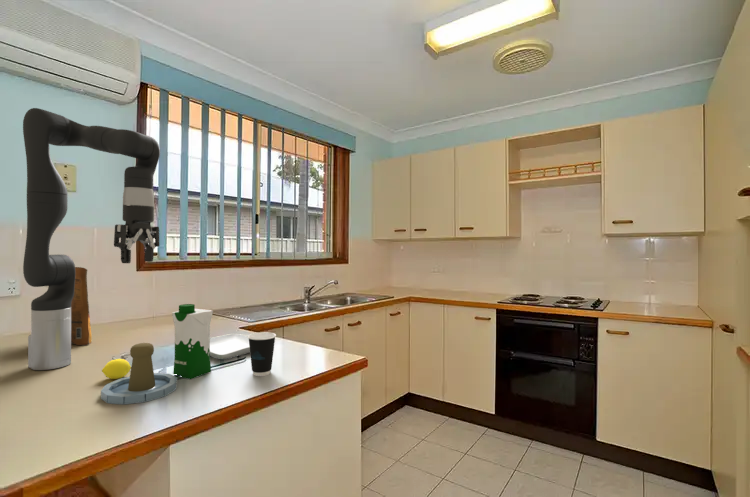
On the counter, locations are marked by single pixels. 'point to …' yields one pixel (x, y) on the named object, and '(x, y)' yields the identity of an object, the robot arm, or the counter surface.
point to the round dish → (121, 395)
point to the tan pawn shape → (141, 368)
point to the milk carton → (192, 341)
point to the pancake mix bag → (80, 310)
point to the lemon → (116, 369)
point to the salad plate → (229, 346)
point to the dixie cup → (261, 352)
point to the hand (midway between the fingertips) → (137, 262)
